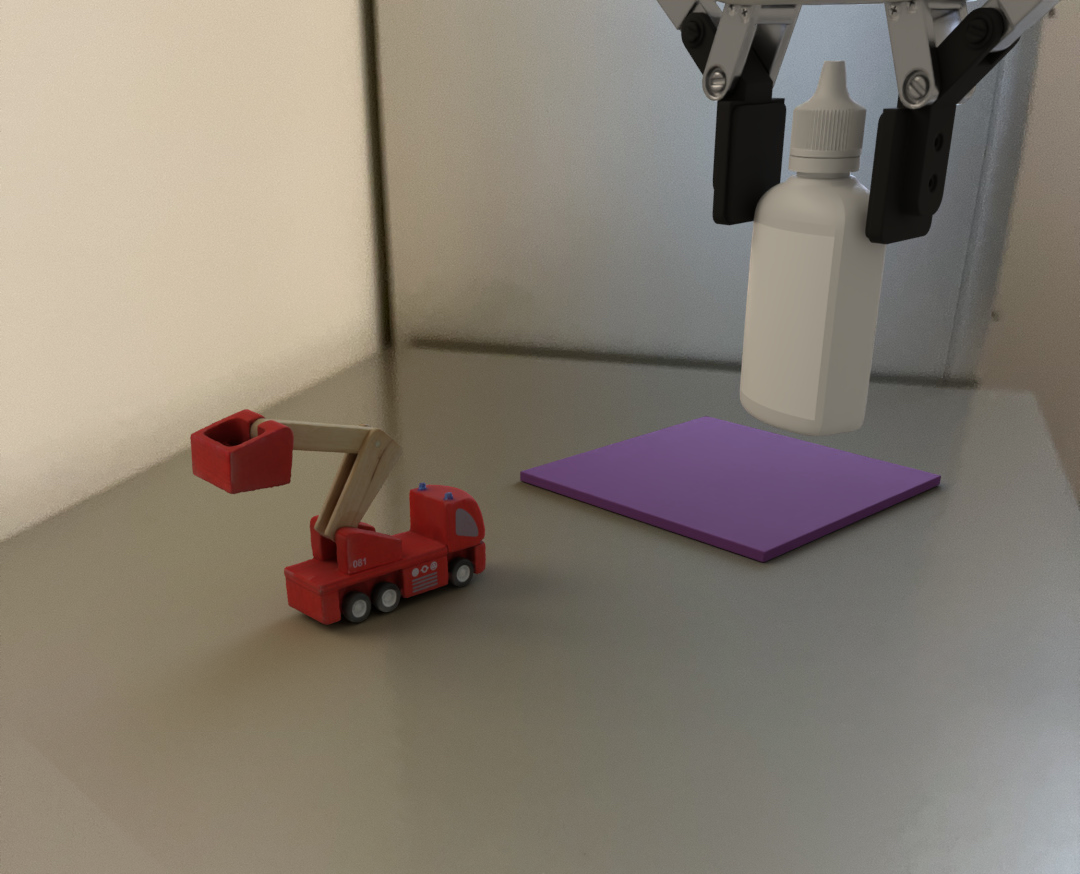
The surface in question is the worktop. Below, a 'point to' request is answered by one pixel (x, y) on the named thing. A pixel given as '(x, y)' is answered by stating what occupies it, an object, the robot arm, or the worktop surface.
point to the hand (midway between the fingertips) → (818, 224)
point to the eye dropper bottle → (814, 276)
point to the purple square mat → (732, 485)
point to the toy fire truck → (348, 514)
